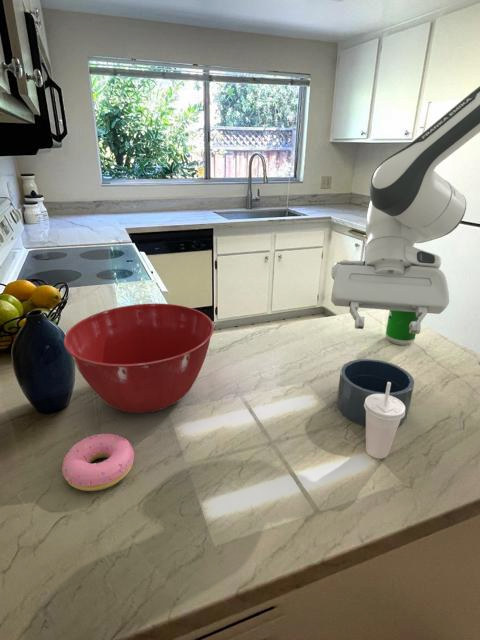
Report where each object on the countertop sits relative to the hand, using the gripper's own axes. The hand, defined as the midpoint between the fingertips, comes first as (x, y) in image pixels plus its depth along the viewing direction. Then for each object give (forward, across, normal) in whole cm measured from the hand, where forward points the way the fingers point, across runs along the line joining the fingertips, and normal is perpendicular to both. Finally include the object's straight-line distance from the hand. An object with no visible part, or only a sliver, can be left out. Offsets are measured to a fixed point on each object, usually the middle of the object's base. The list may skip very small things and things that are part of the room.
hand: (386, 330), depth 71 cm
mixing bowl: (+15, -46, +11) cm, 50 cm away
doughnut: (+31, -44, -4) cm, 54 cm away
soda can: (-14, +10, +40) cm, 43 cm away
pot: (+11, 0, +15) cm, 19 cm away
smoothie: (+20, 0, +6) cm, 21 cm away
